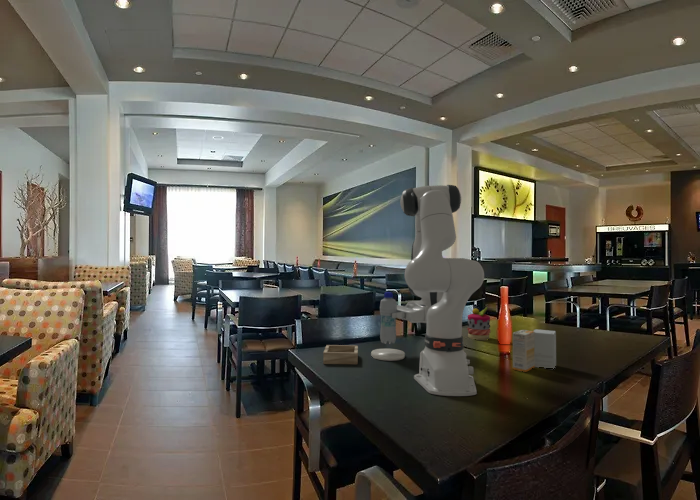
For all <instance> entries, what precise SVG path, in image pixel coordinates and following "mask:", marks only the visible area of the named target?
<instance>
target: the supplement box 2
mask: <svg viewBox="0 0 700 500" xmlns="http://www.w3.org/2000/svg"><path fill="white" fill-rule="evenodd" d="M533 331H534V332H535V367H534V368H539V367H544V368H543V369H546V368H553V369H554V368H555V369H556V367H557V332H556V330H548V329H540V328H539V329H537V328H536V329H533ZM555 366H556V367H555ZM553 369H552V370H553ZM555 369H554V370H555Z"/></svg>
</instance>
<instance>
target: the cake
mask: <svg viewBox="0 0 700 500" xmlns="http://www.w3.org/2000/svg"><path fill="white" fill-rule="evenodd" d="M487 310H488V306H486V307H485V308H484V309H482V310H481V311H480V310H479V309H478V308H473V309H472V313H469V314H467V322H466V323H467V328H466V330H467V338H468V337H469V338H471V339H470V340H473V339H476V340H475V341H488V340H487V339H489V340H490V334H491V324H490V323H491V316H490V315H488V314H486V312H487ZM469 338H468V339H469Z"/></svg>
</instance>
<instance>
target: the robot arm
mask: <svg viewBox="0 0 700 500" xmlns="http://www.w3.org/2000/svg"><path fill="white" fill-rule="evenodd" d="M399 202H400V203H399V204H400V208H401V211H403V214H404V215H406V216H409V217H415V220H414V223H415V224H414V225H415V235H414V236H415V237H414V241H413V243H412V245H411V258H410V261H409V262H408V263H407V265H406V267H405V269H404V280H405V283H406V285H407V288H408V291H409V293H410V294H411V295H412V296H415V297H418V298H421V299H420V300H409V301H407V303H406V304H405V305H401V304H399V305H398V304H396V306H397V310H396V311H397V312H396V313H391V317H392V318H396V319H401V320H404V321H408V322H410V323H411V324H414V323H415V324H416V323H418V324H419V323H421V324H426V331H425V332H426V333H425V335H424V346H425V347H424V349H422V350H421V351H420V353H419V370H418V371H419V373H416V374H414V375H413V379H414V381H416V382H417V383H418V384H419V385H420V386H421V387H422V388H423V389H424V390H425V391H426V392H427V393H429V394H430V395H431V394H432V395H435V396H436V395H437V396H446V397H469V396H475V395H477V394H478V393H477V387H476V384H475V379H474V376H473V375H474V366H470V363H471V362H470V361H471V360H470V359H468V358H467V353H466V352H465V351H464V349H465V347H464V346H465V345H464V337H463V333H462V332H463V331H462V330H463V328H462V327H463V315H464V310H465V306H466V304H467V303H468V300H469V299H470V298H471V296H472V295H473V294H474V293H475V292H476V291H477V290H478V289H480V288H481V287H482V285H483V283H484V279H485V271H484V268H483V266H482V265H481V263H480V262H479V261H477V260H472V259H468V258H463V257H462V258H460V257H444V256H443V251H446V250H447V249H450V248H451V247H452V246H453V245H454V244H455V242H456V239H457V234H456V227H455V222H454V216H453V213H456V212H457V211H459V209H460V207H461V204H462V194H461V192H460V189H459V187H457V186H456V185H453V184H446V185H442V184H441V185H437V184H436V185H423V186H417V187H414V188H413V187H409V188H406V189H404V190H403V191H402V193H401V196H400V201H399ZM379 315H381V313H380V312H379ZM468 365H469V366H468Z"/></svg>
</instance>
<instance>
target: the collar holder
mask: <svg viewBox="0 0 700 500" xmlns="http://www.w3.org/2000/svg"><path fill="white" fill-rule="evenodd" d="M322 355H323V360H322V361H323V362H322V363H323V365H358V360H359V359H358V358H359V357H358V355H359V345H354V344H351V345H350V344H349V345H345V344H344V345H343V344H342V345H341V344H340V345H339V344H326V346H325V347H324V350H323V353H322Z"/></svg>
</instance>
